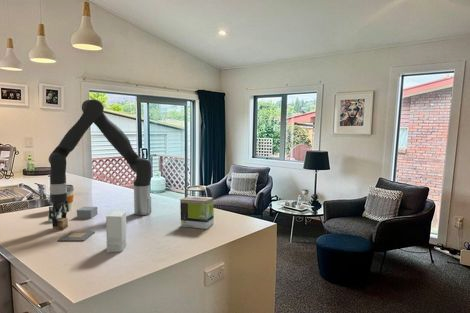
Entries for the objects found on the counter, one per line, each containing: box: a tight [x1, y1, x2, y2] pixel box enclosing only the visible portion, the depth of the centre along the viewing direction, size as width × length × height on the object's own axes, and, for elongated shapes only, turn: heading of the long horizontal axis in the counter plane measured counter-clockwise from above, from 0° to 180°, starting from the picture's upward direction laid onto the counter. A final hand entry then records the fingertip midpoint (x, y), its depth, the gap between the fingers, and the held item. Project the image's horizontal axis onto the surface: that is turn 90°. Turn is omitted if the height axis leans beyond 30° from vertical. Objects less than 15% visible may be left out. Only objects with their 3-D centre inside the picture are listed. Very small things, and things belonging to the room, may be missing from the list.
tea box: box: [179, 195, 215, 230], centre depth 166 cm, size 15×10×15 cm
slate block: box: [76, 206, 99, 219], centre depth 182 cm, size 8×8×5 cm
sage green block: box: [47, 212, 61, 223], centre depth 174 cm, size 5×5×5 cm
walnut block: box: [52, 217, 69, 231], centre depth 160 cm, size 5×5×5 cm
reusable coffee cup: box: [66, 184, 75, 211], centre depth 195 cm, size 13×13×15 cm
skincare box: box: [105, 210, 127, 253], centre depth 134 cm, size 8×7×16 cm
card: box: [56, 230, 96, 242], centre depth 149 cm, size 12×12×1 cm
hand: (59, 223), depth 160 cm, fingers open, 8 cm apart
